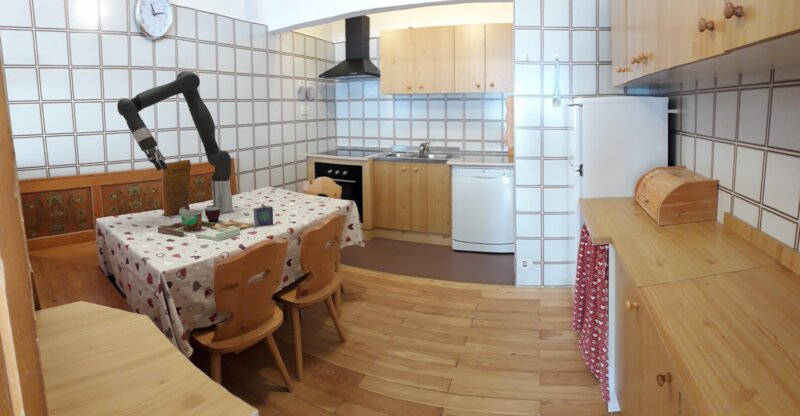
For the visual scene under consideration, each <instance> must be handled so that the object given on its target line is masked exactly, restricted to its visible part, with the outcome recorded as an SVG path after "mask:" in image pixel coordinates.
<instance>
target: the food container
mask: <svg viewBox="0 0 800 416" xmlns="http://www.w3.org/2000/svg"><path fill="white" fill-rule="evenodd" d="M178 215H180V218H181V222H182V225H183V227H182V231H184V232H189V233H190V232H199V231H200V232H201V231H202V227H203V226H202V221H203V220H202V218H203V217H202V216H203V209H194V208H190V209H185V207H182V208H180V211H179V214H178Z"/></svg>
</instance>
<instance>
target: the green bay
mask: <svg viewBox="0 0 800 416" xmlns="http://www.w3.org/2000/svg"><path fill="white" fill-rule="evenodd" d="M216 232H217V233H215V235H211V234H205V233H199V232H196V233H195V237H197V238H199V239H200V238H201V239H204V240H211V241H216V242H219V241H223V240H226V239H229V238H232V237H235V236H236V237H237V236H239V235H241V230H240V228H235V229H231V230H230V229H225V228H219V227H218V228H217V230H216Z"/></svg>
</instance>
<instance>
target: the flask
mask: <svg viewBox="0 0 800 416" xmlns="http://www.w3.org/2000/svg"><path fill="white" fill-rule="evenodd" d="M264 203H265V202H264ZM264 203H261V206H258V207H254V208H253V224H254V226H253V227H263V226H272V225H274V213H273V212H274V211H273V209H274V208H273V206H271V205H265V204H264Z"/></svg>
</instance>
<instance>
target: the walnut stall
mask: <svg viewBox="0 0 800 416" xmlns="http://www.w3.org/2000/svg"><path fill="white" fill-rule="evenodd" d="M216 225H217V224H216V223H215V222H213V223H211V222H208V221H205V220H202V227H204V228H209V229H210V227H211V226H216ZM180 228H183V225H182V221H179V222H175V223H173V224H172V223H171V224H168V225H167V224H166V225H163V226H159V227H157V233H160V234H164V235H170V236H174V237H175V236H176V237H182V238H183V237H185V231H184V230H178V229H180Z"/></svg>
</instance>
